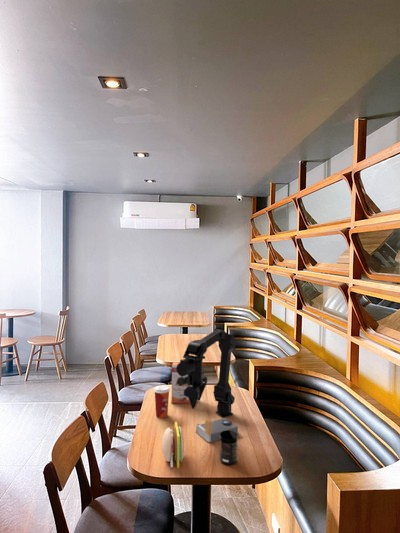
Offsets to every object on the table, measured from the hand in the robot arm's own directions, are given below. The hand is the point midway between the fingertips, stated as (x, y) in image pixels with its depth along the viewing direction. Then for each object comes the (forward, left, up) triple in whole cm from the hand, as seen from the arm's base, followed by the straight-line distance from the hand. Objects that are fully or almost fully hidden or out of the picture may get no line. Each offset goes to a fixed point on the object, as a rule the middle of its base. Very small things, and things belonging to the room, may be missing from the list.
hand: (196, 404), depth 165 cm
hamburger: (+19, +15, -13) cm, 27 cm away
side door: (0, +6, -12) cm, 14 cm away
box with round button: (-8, +7, -12) cm, 16 cm away
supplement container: (+1, +27, -13) cm, 30 cm away
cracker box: (-12, -31, -13) cm, 36 cm away
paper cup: (+6, -22, -13) cm, 26 cm away
